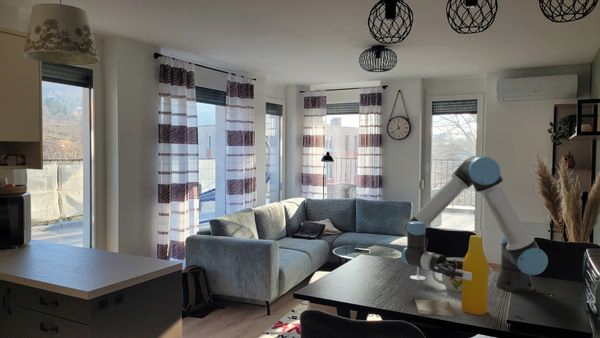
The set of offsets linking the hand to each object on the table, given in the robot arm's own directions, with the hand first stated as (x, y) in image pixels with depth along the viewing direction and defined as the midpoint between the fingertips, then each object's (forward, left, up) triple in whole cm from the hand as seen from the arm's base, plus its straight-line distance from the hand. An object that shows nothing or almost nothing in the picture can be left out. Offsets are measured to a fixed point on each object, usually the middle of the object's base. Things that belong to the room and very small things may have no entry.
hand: (481, 274), depth 163 cm
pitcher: (+5, -29, -15) cm, 33 cm away
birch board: (+17, -1, -15) cm, 22 cm away
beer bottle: (+2, -2, -15) cm, 15 cm away
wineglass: (+18, -45, -15) cm, 51 cm away
